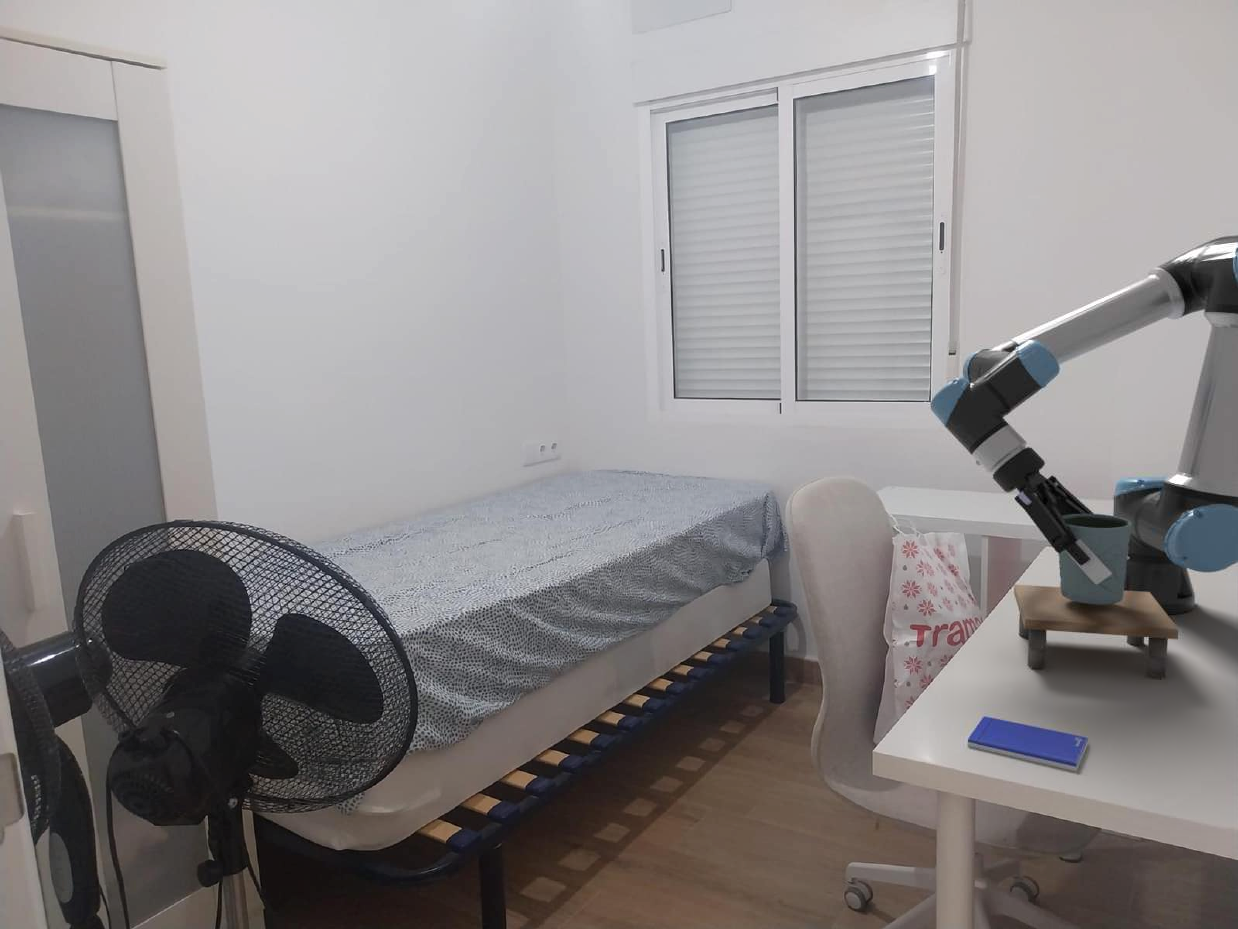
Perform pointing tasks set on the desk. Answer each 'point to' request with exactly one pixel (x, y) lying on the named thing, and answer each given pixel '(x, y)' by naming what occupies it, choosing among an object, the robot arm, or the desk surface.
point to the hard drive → (1029, 743)
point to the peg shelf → (1094, 622)
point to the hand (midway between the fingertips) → (1113, 571)
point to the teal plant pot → (1111, 549)
